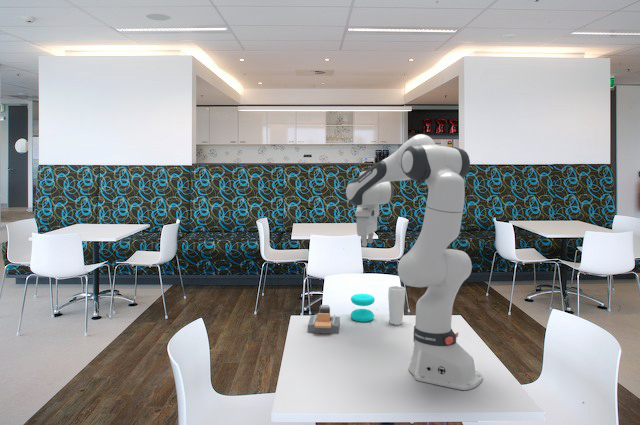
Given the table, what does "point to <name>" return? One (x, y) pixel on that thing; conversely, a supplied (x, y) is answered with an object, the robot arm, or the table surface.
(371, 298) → the donuts
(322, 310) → the plug
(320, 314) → the block
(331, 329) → the socket plate
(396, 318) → the drinking glass
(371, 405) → the table surface
